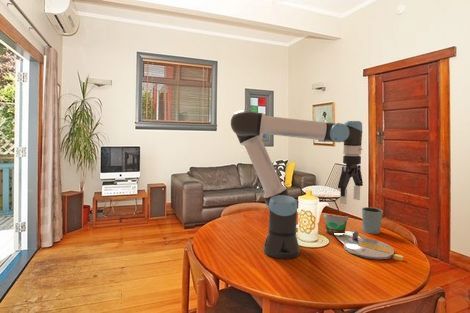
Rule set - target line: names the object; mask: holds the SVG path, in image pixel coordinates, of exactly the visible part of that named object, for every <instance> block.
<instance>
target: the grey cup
mask: <svg viewBox="0 0 470 313" xmlns="http://www.w3.org/2000/svg"><path fill="white" fill-rule="evenodd" d="M361 214H362V216H361V217H362V231H363V232H364V233H368V234H370V235H371V234H373V235H377V234H380V233H381V225H382V219H383V218H382V217H383V214H384V211H383V210H382V209H380V208H377V207H370V206H369V207H368V206H367V207H365V206H364V207H362V208H361Z"/></svg>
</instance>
